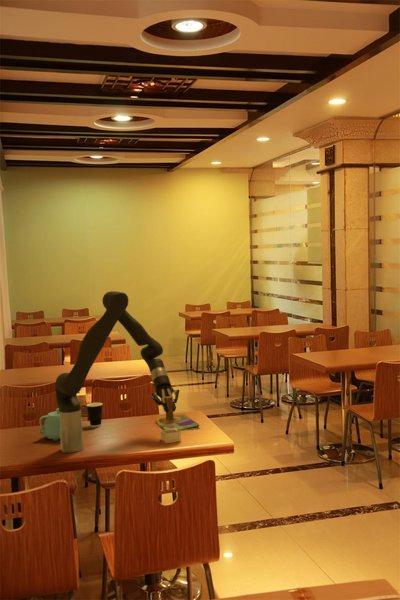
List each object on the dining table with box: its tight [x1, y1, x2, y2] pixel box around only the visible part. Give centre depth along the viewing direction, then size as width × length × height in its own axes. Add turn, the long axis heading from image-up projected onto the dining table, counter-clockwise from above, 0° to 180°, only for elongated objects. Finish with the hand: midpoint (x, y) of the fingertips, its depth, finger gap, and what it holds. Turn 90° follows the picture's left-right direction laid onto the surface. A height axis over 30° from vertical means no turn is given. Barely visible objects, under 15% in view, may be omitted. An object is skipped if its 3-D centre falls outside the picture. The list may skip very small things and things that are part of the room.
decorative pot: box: [38, 407, 60, 442], centre depth 293 cm, size 16×16×14 cm
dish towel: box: [154, 413, 200, 432], centre depth 305 cm, size 18×24×3 cm
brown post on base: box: [159, 396, 181, 424], centre depth 278 cm, size 10×10×11 cm
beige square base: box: [160, 429, 182, 444], centre depth 278 cm, size 7×7×4 cm
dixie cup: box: [86, 402, 103, 428], centre depth 311 cm, size 8×8×11 cm
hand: (170, 411), depth 276 cm, fingers closed on brown post on base, 2 cm apart
